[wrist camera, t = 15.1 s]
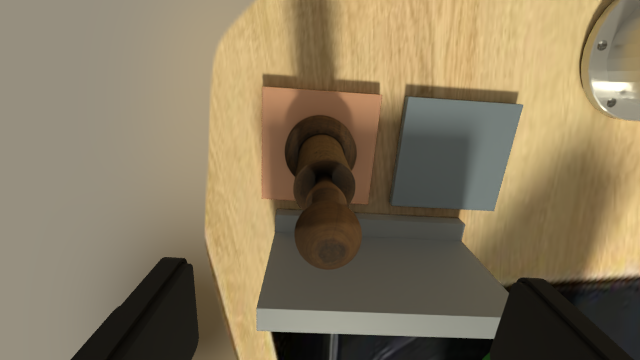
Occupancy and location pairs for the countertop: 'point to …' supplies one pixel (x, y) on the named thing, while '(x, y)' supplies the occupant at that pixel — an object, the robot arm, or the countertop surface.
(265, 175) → the tile terracotta
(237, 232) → the countertop surface
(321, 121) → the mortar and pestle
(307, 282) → the upright grey panel
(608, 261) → the countertop surface
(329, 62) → the countertop surface
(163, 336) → the robot arm
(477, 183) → the mat bluegrey
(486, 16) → the countertop surface
